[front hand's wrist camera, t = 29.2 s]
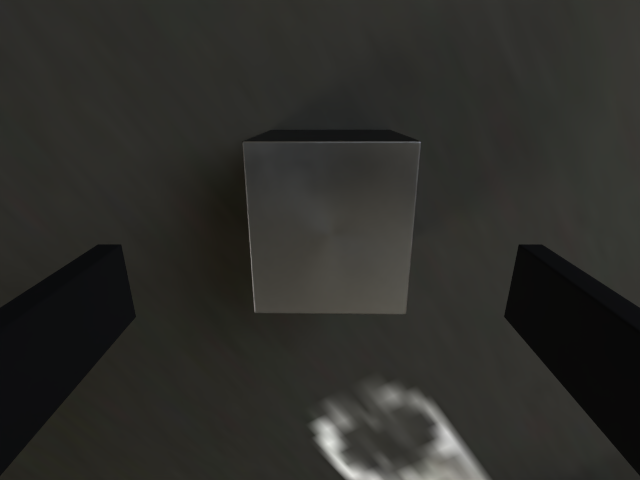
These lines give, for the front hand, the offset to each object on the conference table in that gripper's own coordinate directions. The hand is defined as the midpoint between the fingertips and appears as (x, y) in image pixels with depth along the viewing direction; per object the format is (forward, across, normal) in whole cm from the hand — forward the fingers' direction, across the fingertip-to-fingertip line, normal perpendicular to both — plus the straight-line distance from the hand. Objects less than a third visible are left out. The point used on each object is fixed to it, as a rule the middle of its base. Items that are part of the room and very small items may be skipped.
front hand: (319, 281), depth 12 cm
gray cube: (+13, +1, 0) cm, 13 cm away
